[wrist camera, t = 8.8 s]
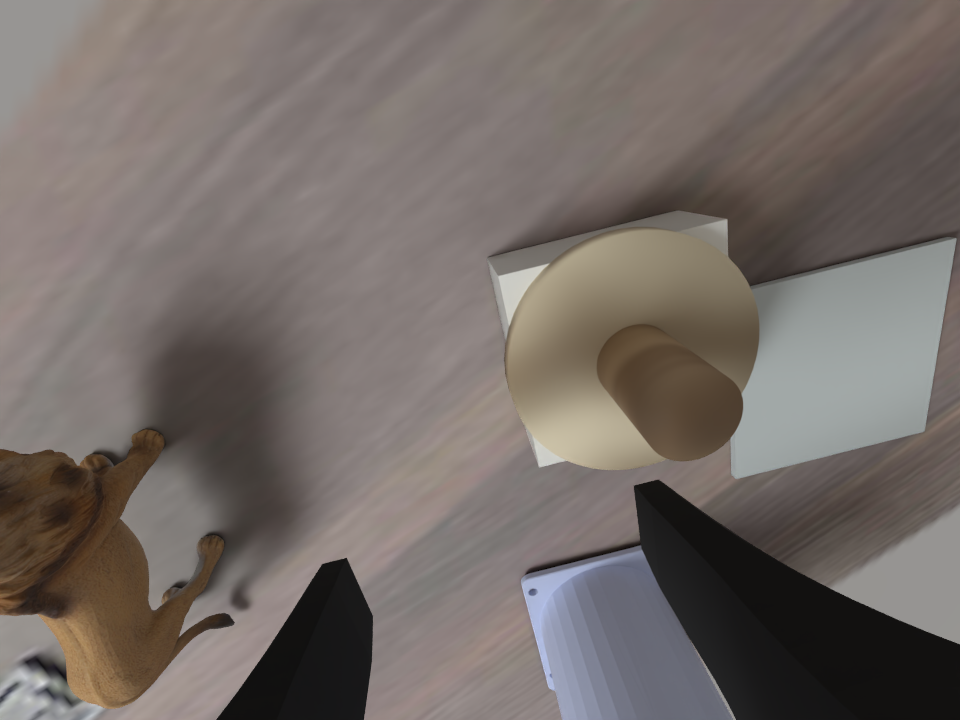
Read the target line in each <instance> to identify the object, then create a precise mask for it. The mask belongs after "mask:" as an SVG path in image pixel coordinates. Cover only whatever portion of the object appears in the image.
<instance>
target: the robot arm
mask: <svg viewBox="0 0 960 720" xmlns="http://www.w3.org/2000/svg"><path fill="white" fill-rule="evenodd" d="M634 492H635V500H636V508H637V516H638V524H639V533H640V541H641V545H640V546H636V547H632V548H629V549H625V550H621V551H617V552H613V553H609V554H605V555H601V556H597V557H593V558H589V559H585V560H581V561H577V562H573V563H569V564H565V565H561V566H557V567H553V568H549V569H545V570H541V571H537V572H533V573H529V574H527V575H525V576H524V577H523V578H522V579H521V584H522V588H523V592H524V596H525V600H526V603H527V607H528V611H529V615H530V618H531V622H532V626H533V630H534V634H535V637H536V641H537V645H538V649H539V653H540V656H541V660H542V664H543V668H544V671H545V675H546V679H547V683H548V687H549V688H550V689H551V690H555V691H556V695H557V699H558V704H559V708H560V712H561V716H562V720H733V718H732V716H731V715H730V713H729V711H728V709H727V707H726V705H725V704H724V702H723V700H722V698H721V697H720V695H719V693H718V691H717V689H716V687H715V685H714V684H713V682H712V680H711V678H710V676H709V675H708V673H707V671H706V669H705V667H704V665H703V664H702V662H701V660H700V658H699V656H698V654H697V653H696V651H695V649H694V647H693V645H692V644H691V642H690V640H689V638H690V639H691V641H692V643H693V644H694V646H695V648H696V649H697V651H698V653H699V654H700V656H701V658H702V659H703V661H704V663H705V664H706V666H707V668H708V669H709V671H710V672H711V674H712V676H713V677H714V679H715V680H716V683H717V684H718V686H719V688H720V690H721V692H722V693H723V695H724V697H725V699H726V701H727V702H728V704H729V706H730V708H731V710H732V712H733V714H734V716H735V718H736V720H960V644H957V643H955V642H952V641H949V640H947V639H944V638H942V637H939V636H936V635H934V634H931V633H928V632H926V631H924V630H921V629H919V628H916V627H914V626H912V625H909V624H907V623H904V622H902V621H899V620H897V619H895V618H892V617H890V616H888V615H886V614H884V613H881V612H879V611H877V610H875V609H872V608H870V607H868V606H866V605H864V604H861V603H859V602H856V601H854V600H852V599H850V598H848V597H846V596H844V595H842V594H840V593H838V592H836V591H834V590H832V589H830V588H828V587H826V586H824V585H822V584H820V583H818V582H816V581H814V580H812V579H810V578H809V577H807V576H805V575H803V574H801V573H799V572H797V571H795V570H794V569H792V568H790V567H788V566H787V565H785V564H783V563H781V562H780V561H778V560H776V559H775V558H773V557H771V556H770V555H768V554H766V553H765V552H763V551H761V550H760V549H758V548H756V547H755V546H753V545H752V544H750V543H748V542H747V541H745V540H744V539H742V538H741V537H739V536H738V535H736V534H735V533H733V532H732V531H730V530H729V529H727V528H726V527H724V526H723V525H721V524H720V523H718V522H717V521H715V520H714V519H712V518H711V517H709V516H708V515H706V514H705V513H704V512H702V511H701V510H699V509H698V508H697V507H695V506H694V505H693V504H691V503H690V502H688V501H687V500H686V499H684V498H683V497H682V496H680V495H679V494H678V493H676V492H675V491H674V490H672V489H671V488H669V487H668V486H667V485H665V484H664V483H663V482H661V481H659V480H655V481H651V482H647V483H643V484H639V485H635V486H634ZM530 589H533V590H530ZM679 621H680V622H679ZM682 626H683V627H682ZM683 628H684V629H683ZM684 630H685V631H686V633H687V634H688V636H689V638H688V636H687V634H686V633H685V631H684ZM372 638H373V615H372V613H371V611H370V609H369V607H368V604H367V602H366V600H365V598H364V595H363V593H362V591H361V589H360V587H359V584H358V582H357V580H356V578H355V575H354V573H353V571H352V569H351V567H350V564H349V562H348V560H347V558H345V559H341V560H337V561H333V562H329V563H325V564H322V565H321V567H320V569H319V570H318V572H317V573H316V575H315V576H314V578H313V579H312V581H311V582H310V584H309V586H308V587H307V589H306V590H305V592H304V594H303V595H302V597H301V598H300V600H299V602H298V603H297V605H296V606H295V608H294V609H293V611H292V613H291V614H290V616H289V617H288V619H287V620H286V622H285V623H284V625H283V627H282V628H281V630H280V631H279V633H278V634H277V636H276V637H275V639H274V640H273V642H272V643H271V645H270V646H269V648H268V649H267V651H266V652H265V654H264V655H263V657H262V658H261V659H260V661H259V662H258V664H257V665H256V667H255V668H254V669H253V671H252V672H251V674H250V675H249V676H248V678H247V679H246V681H245V682H244V684H243V685H242V686H241V688H240V689H239V691H238V692H237V693H236V695H235V696H234V697H233V699H232V700H231V701H230V703H229V704H228V705H227V707H226V708H225V709H224V710H223V712H222V713H221V714H220V716H219V717H218V718H217V719H216V720H364V714H365V707H366V700H367V693H368V686H369V678H370V671H371V663H372Z"/></svg>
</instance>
